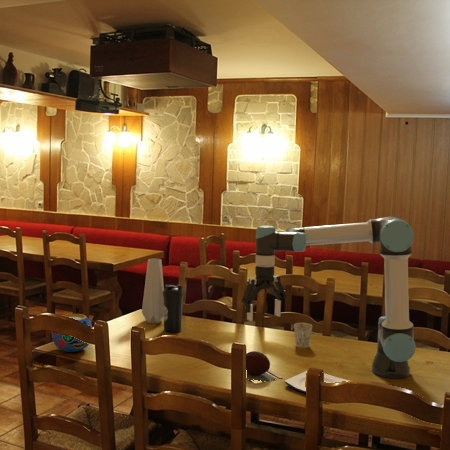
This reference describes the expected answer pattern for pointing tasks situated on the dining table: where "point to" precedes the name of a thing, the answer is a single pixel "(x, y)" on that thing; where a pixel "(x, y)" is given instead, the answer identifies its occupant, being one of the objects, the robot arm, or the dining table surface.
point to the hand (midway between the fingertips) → (263, 318)
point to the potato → (257, 363)
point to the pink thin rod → (275, 374)
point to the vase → (153, 292)
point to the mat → (260, 377)
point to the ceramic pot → (70, 342)
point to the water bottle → (173, 308)
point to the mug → (302, 334)
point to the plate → (300, 379)
